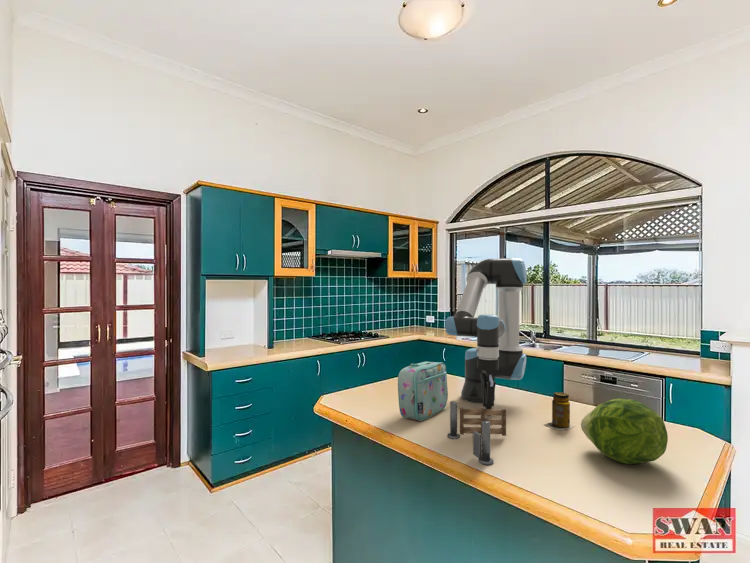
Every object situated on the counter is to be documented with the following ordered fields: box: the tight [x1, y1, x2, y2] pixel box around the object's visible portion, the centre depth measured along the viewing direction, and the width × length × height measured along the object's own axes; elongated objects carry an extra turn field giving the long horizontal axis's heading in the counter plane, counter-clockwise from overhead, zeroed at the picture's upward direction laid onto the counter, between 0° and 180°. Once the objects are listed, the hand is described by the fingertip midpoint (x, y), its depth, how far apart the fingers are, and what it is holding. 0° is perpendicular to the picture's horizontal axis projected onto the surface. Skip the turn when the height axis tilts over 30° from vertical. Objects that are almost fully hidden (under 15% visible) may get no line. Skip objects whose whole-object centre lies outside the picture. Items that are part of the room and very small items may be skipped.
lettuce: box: [580, 398, 669, 465], centre depth 120 cm, size 19×23×18 cm
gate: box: [459, 407, 507, 437], centre depth 137 cm, size 16×1×9 cm, turn 87°
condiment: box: [543, 391, 575, 432], centre depth 148 cm, size 7×8×12 cm
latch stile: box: [472, 420, 495, 466], centre depth 119 cm, size 4×6×12 cm
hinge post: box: [446, 400, 461, 440], centre depth 137 cm, size 4×4×12 cm
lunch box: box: [397, 361, 449, 422], centre depth 161 cm, size 27×10×21 cm, turn 143°
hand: (487, 423), depth 141 cm, fingers closed
